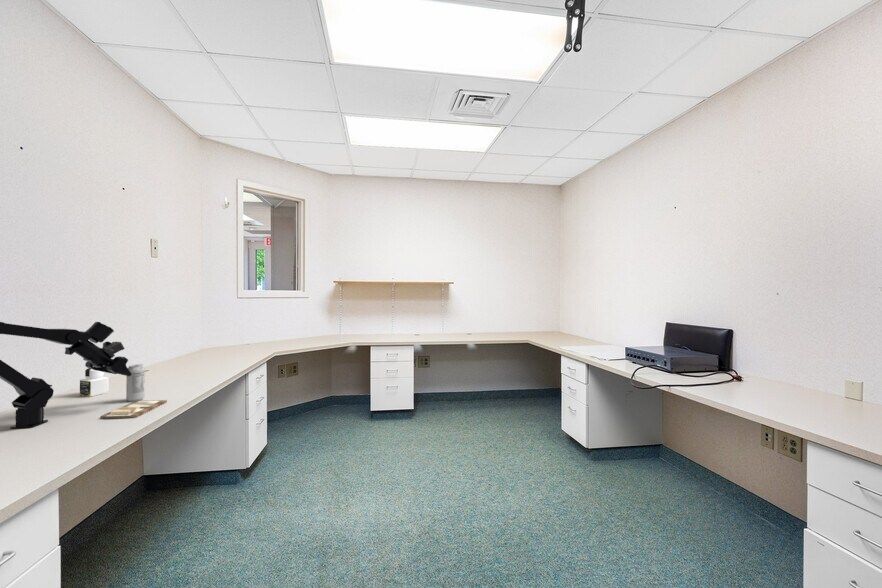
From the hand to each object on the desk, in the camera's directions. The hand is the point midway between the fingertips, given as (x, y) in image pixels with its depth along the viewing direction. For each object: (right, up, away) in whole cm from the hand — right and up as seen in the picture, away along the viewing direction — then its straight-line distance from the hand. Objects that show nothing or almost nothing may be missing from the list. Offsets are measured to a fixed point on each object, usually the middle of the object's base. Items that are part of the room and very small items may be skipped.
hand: (123, 374), depth 152 cm
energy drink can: (+2, -12, +4) cm, 13 cm away
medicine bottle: (-24, -12, +12) cm, 30 cm away
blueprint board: (+13, -12, -9) cm, 20 cm away
